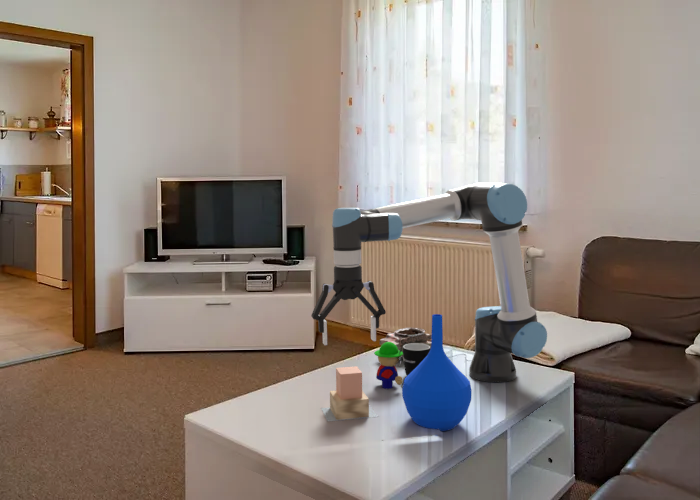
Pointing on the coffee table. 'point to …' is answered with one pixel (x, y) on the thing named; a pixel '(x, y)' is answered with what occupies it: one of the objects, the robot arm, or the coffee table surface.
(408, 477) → the coffee table surface
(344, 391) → the salmon pink block
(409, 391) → the vase
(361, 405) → the oak brick
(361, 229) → the robot arm
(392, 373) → the toy
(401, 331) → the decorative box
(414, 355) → the mug
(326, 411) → the board
